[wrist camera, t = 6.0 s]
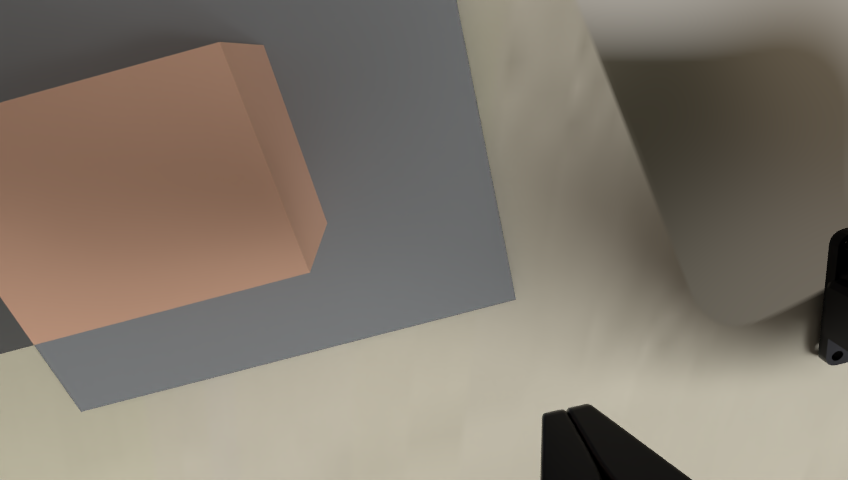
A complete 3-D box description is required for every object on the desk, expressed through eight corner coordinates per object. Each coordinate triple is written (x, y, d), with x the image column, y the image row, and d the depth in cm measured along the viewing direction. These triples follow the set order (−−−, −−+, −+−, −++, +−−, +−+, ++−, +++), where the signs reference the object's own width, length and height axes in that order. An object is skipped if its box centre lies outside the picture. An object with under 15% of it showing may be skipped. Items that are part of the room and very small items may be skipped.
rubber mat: (412, -210, 12) (412, -219, 12) (513, 294, 18) (515, 299, 18) (-213, -31, 13) (-231, -33, 12) (87, 404, 19) (81, 411, 19)
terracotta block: (219, 41, 10) (-156, 145, 11) (309, 272, 13) (-1, 354, 13) (263, 45, 14) (-15, 121, 14) (327, 223, 16) (86, 287, 17)
